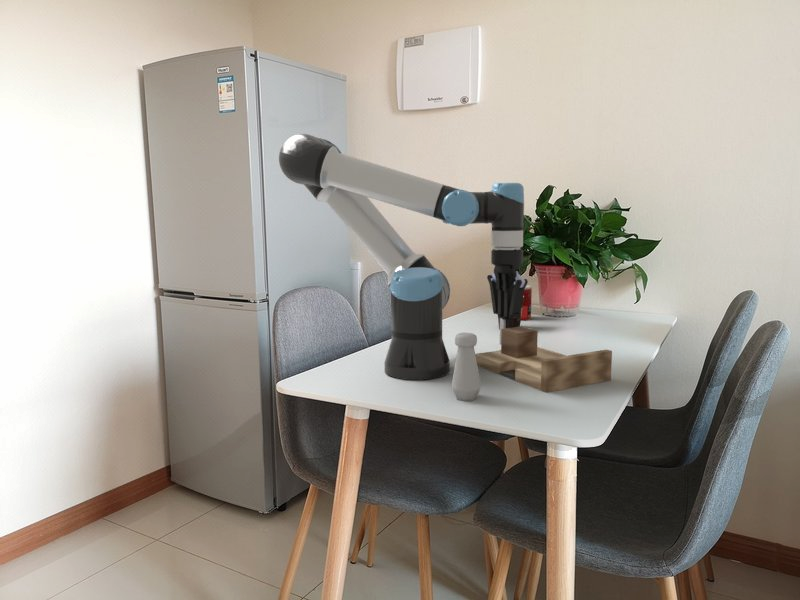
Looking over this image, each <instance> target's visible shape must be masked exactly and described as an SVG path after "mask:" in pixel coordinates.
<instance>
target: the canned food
mask: <svg viewBox="0 0 800 600" xmlns="http://www.w3.org/2000/svg"><path fill="white" fill-rule="evenodd" d="M532 289H533V288H532V286H531V285H528V284H527V285H526V287H525V290H524V295H523V296H524V300H523V308H522V315H521V321H529V320H530V319H531V317H532V292H533V291H532ZM528 319H529V320H528Z"/></svg>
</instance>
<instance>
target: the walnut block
mask: <svg viewBox="0 0 800 600" xmlns="http://www.w3.org/2000/svg"><path fill="white" fill-rule="evenodd" d="M538 333H539V331H538V329H534V328H529V327H526V326H521V325H520V327H512V328H504V329H501V345H500V347H501V348H500V350H501V353H502V354H505V355H508V356H511V357H514V358H523V357H530V356H536V355H537V347H538V337H539V335H538Z"/></svg>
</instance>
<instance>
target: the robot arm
mask: <svg viewBox="0 0 800 600" xmlns="http://www.w3.org/2000/svg"><path fill="white" fill-rule="evenodd" d="M278 153H279V154H278V163H279V166H280V169H281V172H282V173H283V175H285V177H287V179H288V180H290V181H292V183H293V182H294V183H296V184H299V185H303V186H305V188H307V191H309V193H311V195H312V196H313V197H314V198H315V200H317V202H324V203H327V204H328V206H330V208H331V209H332V210H333V212H334V213H335V214H336V215H337V216H338V218H340V220H341V221H342V222H343V223H344V225H345V226H346V227H347V228H348V229H349V230H350V232H351V233H352V235H354V237H356V239H357V240H358V241H359V242H360V244H361V245H362V246H363V247H364V248H365V250H366V251H367V252H368V253H369V254H370V256H371V257H372V258H373V259H374V260H375V261H376V263H377V264H378V265H379V266H380V268H381V269H382V270H383V271H384V272H385V273H386V275H387V286H389V288H390V289H389V290H390V311H391V312H390V314H391V316H390V317H391V318H390V319H391V322H390V323H391V338H390V339H391V340H390V343H389V346H388V350H387V352H386V356H385V359H384V363H383V364H384V373H385V375H387V376H390V377H392V378H395V379H396V378H397V379H402V380H415V381H416V380H430V379H431V380H432V379H439V378H441V377H444V376H447V375H448V374H450V371H451V362H450V358H449V355H448V352H447V349H446V346H445V341H444V339H443V309H444V308H445V307H446V305H447V304H448V302H449V300H450V297H451V288H450V283H449V280H448V278H447V276H446V275H445V274H444V273H443V272H442V271H441V270H439V269H437V268H436V267H435V266H434V265H433V264H432V263H431V262H430V260H428V258H427V257H426V256H425V255H424V254H422V253H416V252H414V251H413V250H412V249H411V247H410V246H409V245H408V244H407V243H406V241H405V240H404V239H403V238H402V237H401V236H400V234H398V232H397V231H396V230H395V228H394V227H393V225H392V224H390V222H389V221H388V220H387V219H386V217H385V216H384V215H383V214H382V213H381V212H380V211H379V209H378V208H377V206H376V205H375V204H374V203H373V202H372V201H371V200H370V199H372V200H376V201H379V202H382V203H383V202H384V203H386V204H389V205H393V206H396V207H399V208H403V209H406V210H408V211H412V212H415V213H419V214H421V215H426V216H429V217H432V218H435V219H437V220H441V221H442V223H444V224H450V225H453V226H457V227H466V226H468V225H474V224H475V225H477V224H487V225H488V224H491V234H490V237H491V242H490V244H491V245H490V246H491V247H492V248H493V249H492V250H491V255H490V256H491V257H490V259H491V262H490V263H491V265H493V266H494V269H493V273H492V274H488V275H487V277H486V278H487V281H488V284H489V290H490V298H491V304H492V305H491V306H492V312H493V314H494V315H497V318H498V317H499V323H498V330H499V345H500V346H501V329H504V328H512V327H513V319H514V318H516V317H519V316H520V311H521V306H522V300H523V295H524V290H525V287H526V285H528V282H529V281H528V279H527V278H523V276H521V269H520V266H521V265H523V263H524V250H523V249H522V248H523V246H524V216H525V196H524V195H525V193H524V192H525V191H524V190H525V187H524V186H523V184H521V183H519V182H498V183H497V182H494V183H493V184H492V186H491V191H485V192H483V191H478V192H477V191H476V192H475V191H467V190H464V189H460V188H456V187H453V186H449V185H446V184H443V183H440V182H437V181H433V180H430V179H427V178H424V177H421V176H418V175H417V176H416V175H413V174H409V173H406V172H403V171H400V170H397V169H393V168H390V167H387V166H383V165H380V164H377V163H373V162H371V161H367V160H364V159H360V158H357V157H354V156H351V155H347V154H345V153H342V151H341V150H340V148H338V146H337V145H335V144H334V143H332V142H331V141H329V140H327V139H325V138H321V137H316V136H314V135H311V134H307V133H299V134H294V135H292V136H291V137H289V138H287V140H285V141H284V142H283V143H282V146H281V148H280V150H279V152H278ZM497 308H498V309H497Z"/></svg>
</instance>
